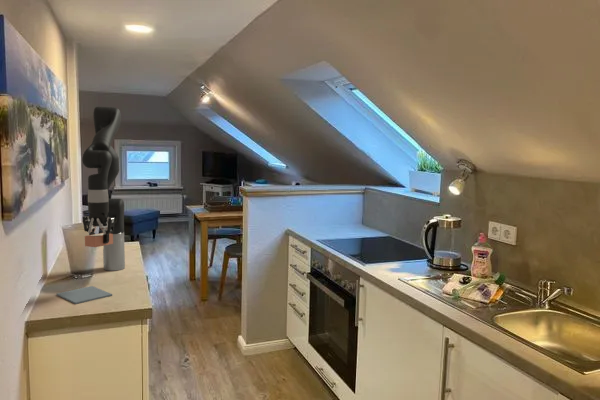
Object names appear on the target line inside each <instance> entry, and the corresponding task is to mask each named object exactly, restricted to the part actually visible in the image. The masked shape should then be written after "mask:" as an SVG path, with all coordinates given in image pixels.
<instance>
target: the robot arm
mask: <svg viewBox="0 0 600 400" xmlns="http://www.w3.org/2000/svg"><path fill="white" fill-rule="evenodd" d="M121 124H122V114H121V110H120V109H119V108H117V107H115V106H96V107H94V109H93V125H94V133H95V134H94V137H93V139H92V142H91V144H90V145H89V146H88V147H87V148H86V149H85V150H84V152H83V154H82V160H81V161H82V164H83V165H84V167H86V168H87V169H97V173H94V174H90V175H88V177H87V183H88V185H87V189H88V190H87V191H88V192H87V212H88V213H89V215H86V216H82V222H83V230H84V232H87V233H88V235H94V234H96V229H97V228H98V227H99V228H100V230H101V231H102V233H103V243H104V244H106V243H108V242H109V234H113V244H109V245H104V246H102V248H103V249H102V252H103V253H102V255H103V257H102V258H103V259H102V260H103V270H105V271H121V270H124V269H125V268H126V261H125V259H126V255H125V201H124V200H123V198H109V189H110V188H111V185H112V184H113V183H114V182H115V180H116V178H117V176H118V175H119V172H120V158H119V155H118V153H117V152H116V150H115V149H114V148H113V146H112V142H113V140H114V138H115V137H116V134H117V133H118V131H119V128H120V127H121Z"/></svg>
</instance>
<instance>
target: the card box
mask: <svg viewBox="0 0 600 400" xmlns="http://www.w3.org/2000/svg"><path fill="white" fill-rule="evenodd" d="M109 244H113V234H109V242H108V243H106V244H104V243H103V232H100V233H95V234H94V235H89V234H88V235H85V236H84V246H85V247H88V248H89V247H90V248H99V247H103V246H104V245H109Z"/></svg>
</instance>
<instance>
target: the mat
mask: <svg viewBox="0 0 600 400" xmlns="http://www.w3.org/2000/svg"><path fill="white" fill-rule="evenodd" d="M55 295H56V296H58V297H60V298H62V299H63V300H66V301H68V302H70V303H72V304H74V305H78V304H82V303H87V302H91V301H96V300H100V299H104V298H109V297H113V293H111V292H109V291H105V290H103V289H100V288H98V287H96V286H93V285H90V286H86V287H85V286H84V287H81V288H76V289H71V290H66V291H63V292H57V293H56V294H55Z"/></svg>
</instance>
